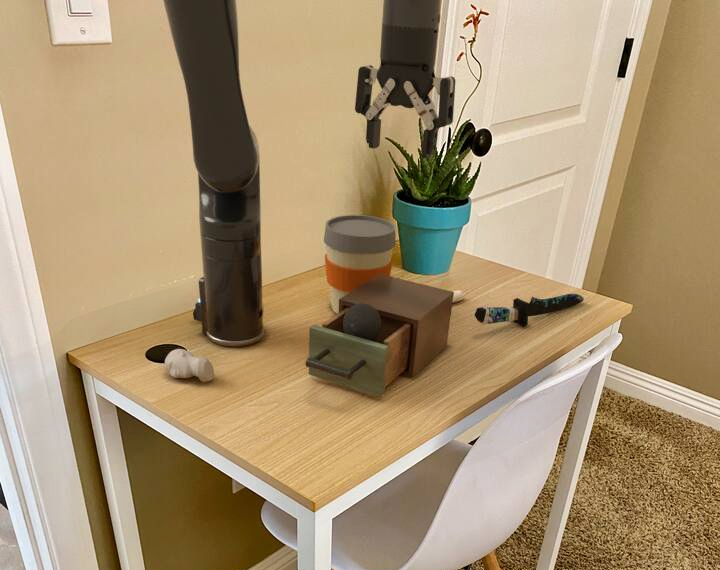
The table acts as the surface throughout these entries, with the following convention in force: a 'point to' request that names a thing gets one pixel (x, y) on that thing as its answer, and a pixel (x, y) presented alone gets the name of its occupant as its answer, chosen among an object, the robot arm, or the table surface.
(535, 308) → the knife
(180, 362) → the pale two-lobed sculpture
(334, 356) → the drawer
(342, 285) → the reusable coffee cup
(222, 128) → the robot arm
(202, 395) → the table surface
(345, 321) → the light bulb
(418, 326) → the cabinet
